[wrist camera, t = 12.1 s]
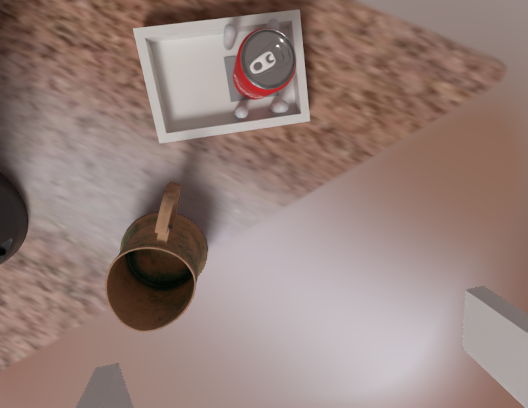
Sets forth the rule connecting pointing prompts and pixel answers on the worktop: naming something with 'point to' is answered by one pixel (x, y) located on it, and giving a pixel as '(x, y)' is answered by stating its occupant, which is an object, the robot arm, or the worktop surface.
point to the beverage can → (264, 63)
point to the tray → (215, 77)
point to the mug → (156, 267)
